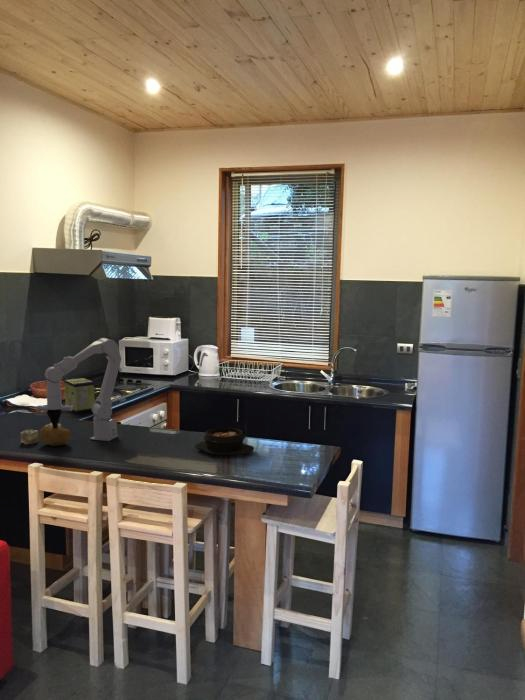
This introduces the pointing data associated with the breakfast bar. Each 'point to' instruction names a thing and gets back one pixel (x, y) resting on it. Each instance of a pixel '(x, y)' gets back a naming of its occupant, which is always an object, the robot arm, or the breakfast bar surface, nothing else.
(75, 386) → the protein box
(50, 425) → the pip block two
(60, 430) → the potato
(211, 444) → the casserole
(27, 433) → the pip block four
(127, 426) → the breakfast bar surface
